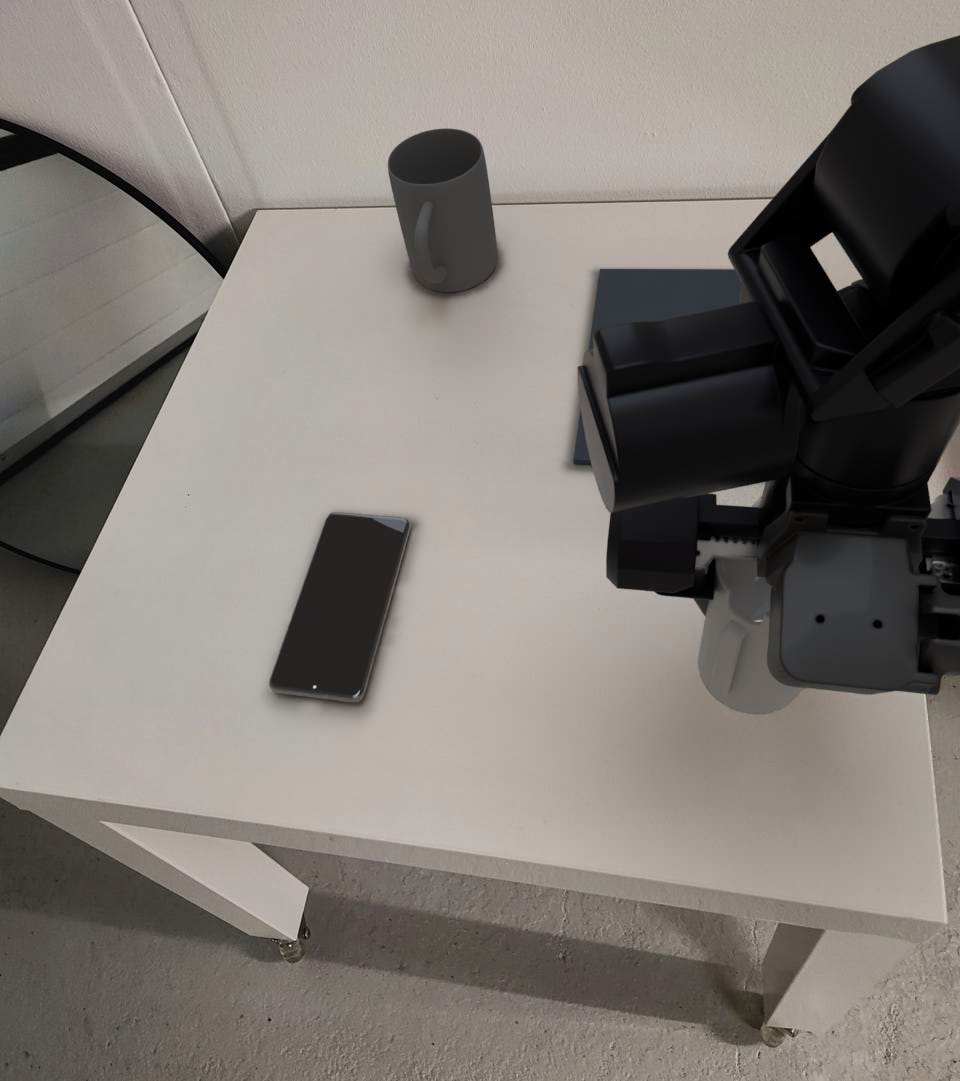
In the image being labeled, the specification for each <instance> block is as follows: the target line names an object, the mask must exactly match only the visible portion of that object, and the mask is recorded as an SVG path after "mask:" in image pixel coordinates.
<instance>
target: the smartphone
mask: <svg viewBox="0 0 960 1081" xmlns="http://www.w3.org/2000/svg"><path fill="white" fill-rule="evenodd" d="M411 528H412V523H411V521H410V520H409V519H408V518H407V517H403V516H391V515H377V514H367V513H366V514H365V513H364V514H363V513H354V512H353V513H351V512H336V511H333V512H331V513H329V514H327V516H326V518H325V520H324V523H323V526H322V529H321V532H320V534H319V538H318V540H317V543H316V545H315V549H314V552H313V555H312V557H311V560H310V562H309V563H310V564H309V565H308V569H307V572H306V575H305V578H304V580H303V583H302V586H301V589H300V591H299V595H298V598H297V600H296V603H295V606H294V608H293V612H292V614H291V618H290V620H289V623H288V626H287V629H286V630H285V634H284V637H283V639H282V643H281V646H280V649H279V651H278V655H277V657H276V660H275V663H274V666H273V669H272V672H271V675H270V678H269V682H268V685H269V688H270V690H271V691H272V692H273V693H278V694H282V695H289V696H291V695H292V696H299V697H306V698H313V699H323V700H330V701H336V702H337V701H339V702H346V703H358V702H360V701H361V700H362V699H363V698H364V697H365V695H366V694H365V693H366V690H367V687H368V683H369V679H370V675H371V672H372V668H373V665H374V662H375V658H376V654H377V651H378V647H379V645H380V644H379V643H380V639H381V637H382V632H383V629H384V625H385V622H386V618H387V615H388V611H389V607H390V603H391V600H392V596H393V594H394V590H395V585H396V582H397V579H398V575H399V571H400V568H401V564H402V560H403V557H404V553H405V550H406V546H407V542H408V538H409V535H410V532H411Z"/></svg>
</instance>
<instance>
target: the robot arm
mask: <svg viewBox="0 0 960 1081" xmlns="http://www.w3.org/2000/svg"><path fill="white" fill-rule="evenodd" d="M830 234H832V235H833V236H834V237H835V239H836V241H837V243H839V245H840V247H841V248H842V250H843V251H844V253H845V254H846V256H847V258H848V259H849V261H850V263H852V265H853V267H854V268H855V270H856V271H857V273H858V275H859V276H860V277H861V278H860V279H857V280H854V281H852V282H851V284H850V285H847V286H845V287H843V288H841V289H836V287H835V285H834V283H833V282H832V280H831V279H830V276H829V275H828V274H827V272H826V270H825V269H824V267H823V265H822V264H821V262H820V261H819V259H818V257H817V256H816V254H815V252H814V251H813V249H812V247H814V245H816V244H817V243H819V242H820V241H822V240H823V239H825V238H826V237H828V236H829V235H830ZM727 258H728V260H729V262H730V263H731V265H732V268H733V269H735V271H736V273H737V275H738V277H739V279H740V281H741V283H742V288H741V294H740V300H739V305H735V306H730V307H725V308H720V309H715V310H710V311H706V312H701V313H696V314H691V315H686V316H682V317H677V318H672V319H667V320H662V321H652V322H631V323H625V324H620V325H615V326H610V327H606V328H601V329H599V330H597V331H596V332H595V333H594V335H593V349H592V350H589V349H586V350H585V351H584V354H583V359H582V365H578V366H577V367H576V368H577V369H576V370H577V388H578V398H579V405H580V409H581V413H582V420H583V426H584V431H585V437H586V442H587V447H588V451H589V456H590V460H591V464H592V465H591V469H592V471H593V476H594V479H595V483H596V486H597V489H598V492H599V495H600V498H601V500H602V502H603V506H604V507H605V509H606V510H607V512H608V513H610V514H609V522H608V523H609V524H608V533H607V543H606V555H605V556H606V558H605V573H606V574H605V576H606V579H607V580H608V581H609V582H610V583H611V584H612V585H613V586H614V587H615V588H616V589H619V590H620V589H621V590H632V591H643V592H644V591H645V592H654V593H655V594H657V595H658V596H662V597H669V598H670V597H671V598H681V599H682V598H683V599H693V601H694V602H695V604H696V606H697V607H698V608H699V610H700V612H701V613H702V614H703V616H704V617H705V616H706V611H707V607H708V603H709V600H714V594H715V559H730V560H743V561H756V562H757V577H765V580H766V582H767V583H768V584H769V585H770V586H772V587H771V597H770V619H769V641H768V649H767V665H768V669H769V671H770V673H771V675H772V676H773V677H774V678H775V679H776V680H777V681H778V682H780V683H781V684H783V685H786V686H791V687H799V688H804V689H812V690H821V691H830V692H840V693H849V694H850V693H851V694H854V695H855V694H856V695H865V696H867V695H868V696H872V695H877V694H884V693H891V692H902V693H909V694H910V693H911V694H912V693H913V694H921V695H929V696H930V695H931V696H937V695H938V694H939V693H940V690H941V685H942V678H943V676H952V677H956V676H960V477H958V476H957V477H956V476H950V477H949V479H948V480H947V481H946V483H945V486H944V487H943V488H942V494H939V495H937V497H935V498H934V500H933V502H932V503H931V497H930V490H929V484H928V483H929V481H930V479H931V477H932V476H933V474H934V472H935V470H936V468H937V466H938V465H939V463H940V461H941V459H942V457H943V456H944V454H945V451H946V450H947V447H948V446H949V445H950V442H951V440H952V438H953V437H954V435H955V433H956V432H957V429H958V428H959V425H960V34H959V35H956V36H955V35H954V36H952V37H948V38H946V39H941V40H940V41H934V42H932V43H931V42H930V43H928V44H926V45H923V46H921V47H918V48H915V49H913V50H910V51H909V52H906V53H905V54H903V55H902V56H900V57H898V58H896V59H895V60H894V61H892V62H890V63H888V64H887V65H885V66H882V67H881V68H880V69H878V70H876V71H875V72H874V73H873V74H872V75H871V76H869V77H868V78H867V79H866V80H865V81H864V82H862V83H861V84H860V85H859V86H858V87H856V89H855V90H854V91H853V92H852V95H851V96H850V105H849V107H848V108H847V109H846V110H845V112H844V113H843V115H842V116H841V118H840V119H839V120H838V122H837V123H836V124H835V125H834V127H833V128H832V129H831V131H830V132H828V134H827V135H826V137H824V138H823V140H822V141H821V142H820V143H819V144H818V145H817V147H816V148H815V149H813V151H812V153H811V154H809V156H807V158H806V159H805V161H804V162H803V163H802V164H801V165H800V167H799V168H797V170H796V171H795V172H794V173H793V175H792V176H791V177H790V178H789V179H788V181H786V182H785V184H784V185H783V186H782V187H781V188H780V190H778V192H777V193H776V194H775V195H774V197H773V198H772V199H771V200H770V201H769V202H768V203H767V204H766V206H765V207H764V208H763V209H762V210H761V211H760V212H759V214H758V215H757V216H756V217H755V218H754V219H753V221H751V223H750V224H749V225H748V226H747V228H745V230H744V231H743V232H742V233H741V234H740V236H739V237H737V239H736V240H735V242H733V244H732V245H731V246H730V247H729V248H728V251H727ZM762 483H764V486H763V490H762V493H761V496H762V497H761V496H760V497H761V501H760V505H759V507H751V506H745V505H743V506H742V505H730V504H729V505H728V504H717V503H718V502H717V494H716V493H717V492H722V491H729V490H732V489H736V488H741V487H747V486H753V485H757V484H762Z"/></svg>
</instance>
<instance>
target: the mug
mask: <svg viewBox="0 0 960 1081" xmlns="http://www.w3.org/2000/svg"><path fill="white" fill-rule="evenodd" d="M387 172H388V178H389V183H390V187H391V192H392V197H393V201H394V205H395V209H396V213H397V218H398V220H399V221H398V222H399V226H400V230H401V234H402V238H403V242H404V246H405V250H406V253H407V257H408V260H409V264H410V267H411V271H412V274H413V275H414V277H415V279H416V280H417V282H419V284H421V285H422V286H423V287H424V288H426V289H429V290H431V291H434V292H438V293H439V292H440V293H456V292H463V291H466V290H469V289H472V288H474V287H476V286H478V285H480V284H482V283H483V282H485V281H486V280H487V279H488V278H489V277H490V276H491V275H492V274H493V272H494V271H495V269H496V266H497V263H498V243H497V234H496V226H495V219H494V218H495V217H494V210H493V201H492V195H491V188H490V181H489V175H488V174H489V173H488V167H487V162H486V155H485V150H484V148H483V144H482V143H481V141H480V139H479V138H478V137H477V136H476V135H474V134H472V133H470V132H469V131H466V130H462V129H458V128H445V127H444V128H435V129H430V130H425V131H420V132H419V133H416V134H413V135H411V136H409V137H407V138H406V139H404V140H402V141H401V142H400V143H398V144H397V145H396V146H395V147H394V148H393V149H392V151H391V152H390V153H389V156H388V159H387Z"/></svg>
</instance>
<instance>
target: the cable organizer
mask: <svg viewBox="0 0 960 1081" xmlns="http://www.w3.org/2000/svg"><path fill="white" fill-rule="evenodd" d="M761 497H762V495H761V496H760V497H759V498H758V499H757V500H756V501H755V502H754V503H753V504H752V505H751V506H750V507H759V505H760V501H761ZM771 587H772V586H770V585H769V584H768V583H767V582H766V580H765V577H757V562H756V561H743V560H730V559H715V594H714V600H709V603H708V607H707V611H706V616H704V622H703V628H702V634H701V638H700V639H701V640H700V645H699V651H698V657H697V669H698V674H699V677H700V680H701V683H702V684H703V686H704V687H705V689H706V690H707V691H708V693H709V694H710V695H711V696H712V697H713V698H714V699H715V700H716V701H717V702H719V703H720V704H722V705H723V706H724V707H725V708H726V707H727V708H728V709H730V710H733V711H735V712H738V713H741V714H745V715H752V716H753V715H754V716H759V715H769V714H774V713H776V712H779V711H781V710H783V709H786V708H787V707H788V706H789V705H791V704H792V703H793V702H794V701H795V700H796V699H797V698H798V696H799V695H800V694H801V693H802V691H803V690H804V689H805V688H799V687H791V686H786V685H783V684H781V683H780V682H778V681H777V680H776V679H775V678H774V677H773V676H772V675H771V673H770V671H769V669H768V665H767V649H768V641H769V619H770V597H771Z"/></svg>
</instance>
